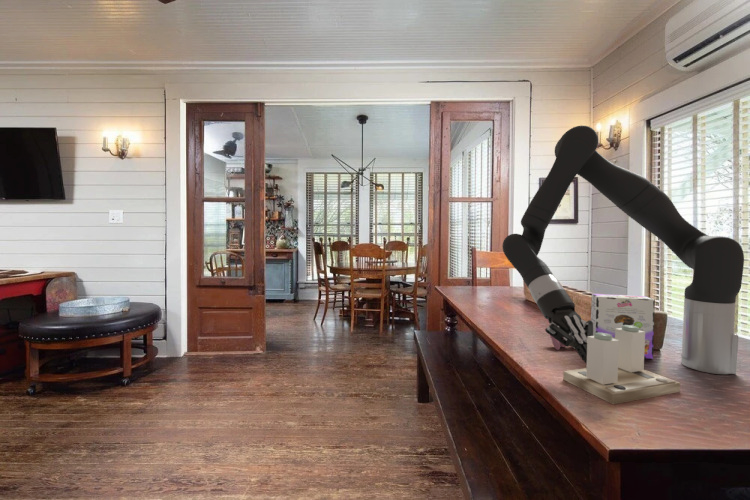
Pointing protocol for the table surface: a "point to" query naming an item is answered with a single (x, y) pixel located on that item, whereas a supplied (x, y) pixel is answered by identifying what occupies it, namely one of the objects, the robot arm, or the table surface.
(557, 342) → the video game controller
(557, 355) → the table surface
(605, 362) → the white bottle with cap
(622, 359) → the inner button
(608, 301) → the candy box
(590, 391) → the switch board
